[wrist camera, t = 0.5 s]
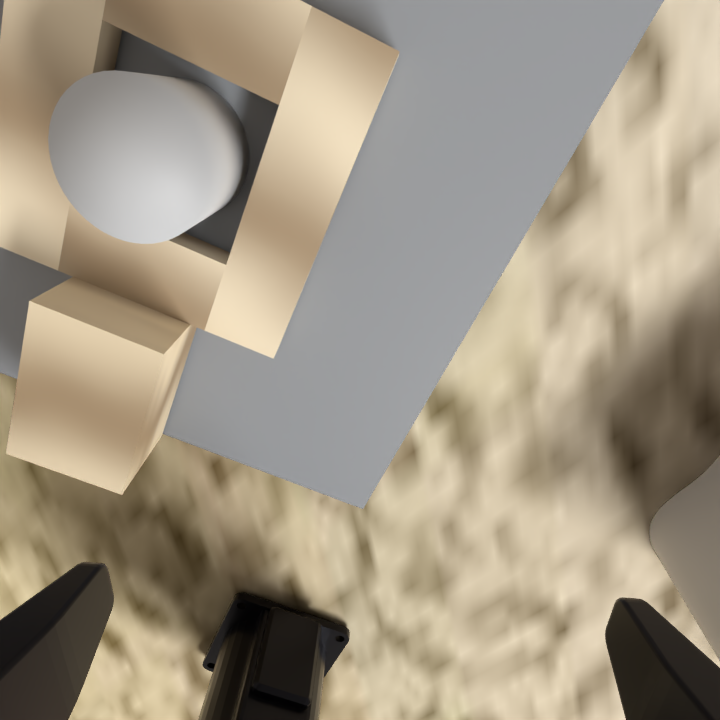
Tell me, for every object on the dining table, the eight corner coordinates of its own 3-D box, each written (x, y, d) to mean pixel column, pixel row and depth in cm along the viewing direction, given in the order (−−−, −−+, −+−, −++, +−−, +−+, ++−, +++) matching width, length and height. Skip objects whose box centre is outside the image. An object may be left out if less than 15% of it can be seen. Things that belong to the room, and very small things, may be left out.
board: (364, 490, 24) (358, 585, 19) (-141, 298, 21) (-296, 354, 16) (689, -71, 14) (834, -155, 10) (-149, -577, 11) (-531, -1061, 7)
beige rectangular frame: (48, -126, 13) (-56, -196, 10) (399, 55, 15) (401, 42, 12) (-13, 371, 20) (-87, 421, 17) (231, 463, 22) (204, 524, 18)
